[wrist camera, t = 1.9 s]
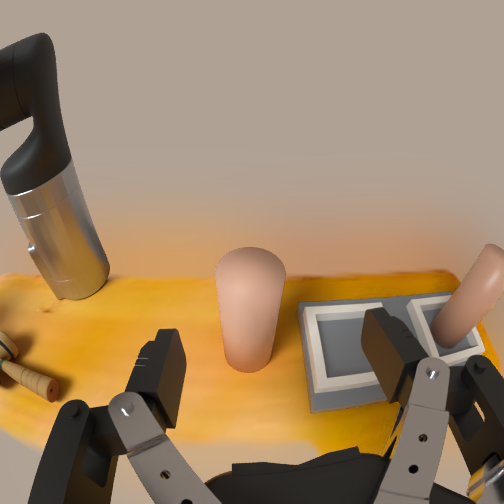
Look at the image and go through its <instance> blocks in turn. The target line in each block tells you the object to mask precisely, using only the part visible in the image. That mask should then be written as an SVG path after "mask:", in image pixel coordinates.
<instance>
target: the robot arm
mask: <svg viewBox="0 0 504 504" xmlns="http://www.w3.org/2000/svg"><path fill="white" fill-rule="evenodd" d="M31 116H33V122H34V127H33V130H32V132H31V133H30V135H29V136H28V138H27V139H26V140H25V142H24V143H23V144H22V145H21V146H20V147H19V148H18V149H17V150H16V151H15V152H14V153H13V154H12V155H11V156H10V157H9V158H8V159H7V161H6V162H5V163H4V165H3V166H2V168H1V171H0V177H1V180H2V184H3V186H4V189H5V191H6V193H7V195H8V198H9V200H10V202H11V205H12V207H13V209H14V211H15V214H16V216H17V218H18V220H19V222H20V224H21V226H22V228H23V231H24V233H25V235H26V236H27V238H28V240H29V246H28V252H29V254H30V256H31V258H32V259H33V261H34V263H35V265H36V266H37V268H38V269H39V271H40V273H41V274H42V276H43V278H44V279H45V281H46V282H47V284H48V285H49V287H50V288H51V290H52V291H53V293H54V294H55V296H56V297H57V299H58V300H60V299H63V298H66V299H70V300H79V299H83V298H86V297H88V296H90V295H92V294H94V293H95V292H96V291H97V290H99V289H100V288H101V287H102V285H103V284H104V283H105V281H106V280H107V278H108V275H109V271H110V265H109V262H108V260H107V257H106V254H105V252H104V250H103V248H102V245H101V243H100V240H99V238H98V235H97V233H96V230H95V227H94V225H93V222H92V219H91V217H90V214H89V211H88V208H87V205H86V202H85V199H84V196H83V193H82V190H81V187H80V184H79V181H78V177H77V174H76V171H75V167H74V164H73V160H72V157H71V153H70V149H69V146H68V142H67V138H66V134H65V130H64V126H63V120H62V115H61V109H60V102H59V94H58V82H57V69H56V57H55V51H54V46H53V43H52V40H51V39H50V37H49V36H48V35H47V34H45V33H39V34H35V35H32V36H30V37H27V38H25V39H22V40H20V41H18V42H16V43H14V44H11V45H9V46H7V47H5V48H3V49H1V50H0V131H2V130H4V129H6V128H8V127H10V126H12V125H14V124H16V123H18V122H20V121H22V120H24V119H26V118H28V117H31ZM361 346H362V350H363V352H364V354H365V356H366V358H367V360H368V362H369V364H370V366H371V367H372V369H373V371H374V373H375V375H376V377H377V379H378V382H379V384H380V386H381V388H382V390H383V392H384V394H385V396H386V398H387V400H388V402H389V404H390V403H394V402H397V401H399V403H400V408H399V410H398V413H397V416H396V419H395V422H394V425H393V427H392V430H391V433H390V435H389V438H388V441H387V443H386V445H385V447H384V449H383V451H382V453H381V455H376V454H370V453H360V452H359V449H358V446H356V447H352V448H348V449H344V450H339V451H335V452H330V453H327V454H324V455H322V456H320V457H317V458H315V459H312V460H310V461H308V462H305V463H302V464H299V465H288V464H277V463H268V462H257V463H236V464H232V471H229V472H226V473H223V474H220V475H218V476H215V477H213V478H211V479H210V480H208V481H207V482H205V483H203V482H202V481H201V480H200V478H199V477H198V476H197V475H196V473H195V472H194V471H193V470H192V468H191V467H190V466H189V465H188V463H187V462H186V461H185V459H184V458H183V457H182V456H181V454H180V453H179V452H178V450H177V449H176V447H175V446H174V445H173V443H172V442H171V441H170V439H169V438H168V436H167V435H166V434H165V433H166V428H172V429H175V427H176V422H177V416H178V410H179V404H180V399H181V393H182V388H183V383H184V378H185V372H186V356H185V352H184V349H183V346H182V342H181V339H180V336H179V332H178V330H177V329H159V330H158V333H157V335H156V338H155V341H148V342H147V343H146V344H145V345H144V346H143V347H142V348H141V350H140V353H139V355H138V359H137V360H136V363H135V366H134V368H133V371H132V373H131V376H130V378H129V381H128V384H127V386H126V389H125V392H123V393H120V394H118V395H116V396H115V397H114V398H113V399H112V400H111V401H110V403H109V405H107V406H101V407H94V408H89V406H88V405H87V404H86V403H85V402H84V401H82V400H77V399H76V400H71V401H68V402H67V403H65V404H64V405H63V406H62V407H61V409H60V411H59V413H58V415H57V418H56V420H55V423H54V425H53V428H52V430H51V433H50V435H49V438H48V441H47V443H46V446H45V449H44V452H43V455H42V457H41V460H40V463H39V466H38V469H37V473H36V476H35V479H34V483H33V486H32V489H31V493H30V497H29V500H28V504H110V501H111V495H112V489H113V482H114V477H115V472H116V466H117V461H118V456H119V455H124V454H127V457H128V459H129V461H130V463H131V465H132V467H133V468H134V470H135V472H136V474H137V475H138V477H139V479H140V481H141V482H142V484H143V485H144V487H145V489H146V490H147V492H148V493H149V495H150V497H151V498H152V500H153V501H154V503H155V504H504V379H503V377H502V376H501V374H500V373H499V372H498V370H497V369H496V368H495V366H494V365H493V364H492V362H491V361H490V360H489V359H488V358H486V357H485V356H482V355H472V356H470V357H469V358H468V359H467V361H466V363H465V365H464V366H448V365H447V364H446V363H445V362H444V361H443V360H441V359H439V358H436V357H429V355H428V354H427V352H426V351H425V350H424V348H423V347H422V346H421V344H420V343H419V342H418V340H417V339H416V338H415V337H414V336H413V334H412V332H411V331H409V328H408V327H407V326H406V324H405V323H404V322H403V321H402V320H400V319H398V318H397V317H395V316H390V315H389V313H388V312H387V311H386V310H385V308H384V307H378V308H372V309H367V310H366V311H365V315H364V322H363V328H362V334H361ZM475 402H477V403H478V405H479V407H480V408H481V410H482V412H483V413H484V417H485V421H483V419H482V417H481V415H480V414H479V412H478V410H477V408H476V407H475V405H474V403H475ZM448 424H449V427H450V429H451V431H452V433H453V435H454V437H455V439H456V442H457V444H458V446H459V448H460V450H461V453H462V455H463V457H464V460H465V462H466V465H467V467H468V470H469V472H470V475H471V478H470V481H469V485H468V489H467V492H466V493H467V496H468V497H469V498H468V497H465V496H463V495H461V494H458V493H456V492H454V491H451V490H449V489H447V488H445V487H443V486H441V485H438V484H436V483H434V479H435V476H436V472H437V469H438V465H439V461H440V457H441V454H442V449H443V445H444V440H445V435H446V431H447V425H448Z"/></svg>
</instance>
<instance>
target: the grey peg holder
mask: <svg viewBox="0 0 504 504" xmlns="http://www.w3.org/2000/svg"><path fill="white" fill-rule="evenodd" d="M503 294H504V250H502V249H501V248H500V247H498V246H496V245H493V244H487V245H485V247H484V249H483V250H482V252H481V253H480V255H479V257H478V258H477V260H476V261H475V263H474V264H473V266H472V268H471V269H470V271H469V272H468V274H467V275H466V277H465V278H464V279H463V281H462V282H461V284H460V285H459V286H458V288H457V289H456V291H455V292H454V293H452V291H448V292H439V293H429V294H419V295H408V296H397V297H384V298H371V299H355V300H337V301H316V302H298V306H297V315H298V322H299V328H300V335H301V342H302V349H303V356H304V363H305V371H306V378H307V386H308V394H309V402H310V411H311V414H312V413H320V412H328V411H335V410H341V409H348V408H353V407H359V406H364V405H369V404H374V403H379V402H383V401H388V400H387V398H386V396H385V394H384V392H383V390H382V388H381V386H380V384H379V382H378V379H377V377H376V375H375V373H374V371H373V369H372V367H371V366H370V364H369V362H368V360H367V358H366V356H365V354H364V352H363V350H362V346H361V334H362V328H363V322H364V315H365V311H366V310H367V309H372V308H378V307H384V308H385V310H386V311H387V312H388V313H389V315H390V316H395V317H397V318H398V319H400V320H402V321H403V322H404V323H405V324H406V326H407V327H408V328H409V331H411V332H412V334H413V336H414V337H415V338H416V339H417V340H418V342H419V343H420V344H421V346H422V347H423V348H424V350H425V351H426V352H427V354H428V355H429V357H436V358H439V359H441V360H443V361H444V362H445V363H446V364H447V365H448V366H464V365H465V363H466V361H467V359H468V358H469V357H470V356H472V355H481V354H482V353H483V352H484V351H485V348H484V345H483V343H482V340H481V338H480V335H479V333H478V331H477V328H476V325H477V324H478V323H479V322H480V321H481V320H482V318H483V317H484V316H485V315H486V314H487V313H488V312H489V310H490V309H491V308H492V307H493V306H494V305H495V303H496V302H497V301H498V300H499V299H500V297H501V296H502V295H503Z"/></svg>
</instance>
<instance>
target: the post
mask: <svg viewBox="0 0 504 504" xmlns="http://www.w3.org/2000/svg"><path fill="white" fill-rule="evenodd" d="M215 275H216V285H217V294H218V303H219V312H220V320H221V328H222V336H223V344H224V352H225V357H226V360H227V362H228V363H229V365H230V366H231V367H232V368H234V369H235V370H237V371H240V372H244V373H252V372H256V371H259V370H261V369H262V368H264V367H265V366H266V365H267V363H268V362H269V360H270V357H271V352H272V347H273V342H274V337H275V332H276V326H277V321H278V315H279V310H280V304H281V299H282V293H283V287H284V281H285V275H286V272H285V267H284V265H283V263H282V262H281V260H280V259H279V258H278V257H277V256H276V255H274V254H273V253H271V252H269V251H267V250H264V249H261V248H254V247H246V248H239V249H235V250H233V251H231V252H229V253H227V254H226V255H224V256H223V257H222V258H221V259H220V260H219V262H218V264H217V266H216V271H215Z"/></svg>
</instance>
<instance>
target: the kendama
mask: <svg viewBox="0 0 504 504" xmlns="http://www.w3.org/2000/svg"><path fill="white" fill-rule="evenodd" d="M18 352H19V351H18V348H17V347H16V345H15V344H14V343H13V341H12V340H11V339H10V338H9V337H8V336H7V335H5V334H4V333H3V332H2V331H0V370H3V371H4V372H5V373H7V374H8V375H9V376H10V377H11V378H13V379H14V380H15V381H17V382H18V383H20V384H21V385H23V386H25V387H26V388H28V389H29V390H31V391H32V392H34V393H36V394H37V395H39V396H41V397H42V398H44V399H45V400H47V401H49V402H52V403H53V402H55V401H56V400H57V398H58V395H59V392H60V386H59V382H58V381H57V380H56V379H54V378H51V377H48V376H45V375H42V374H40V373H37V372H35V371H32V370H30V369H28V368H25V367H23V366H21V365H18V364H16V363H13V362H10V361H7V360H9V359H15V358H16V356H17V354H18ZM0 385H1V383H0Z"/></svg>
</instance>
